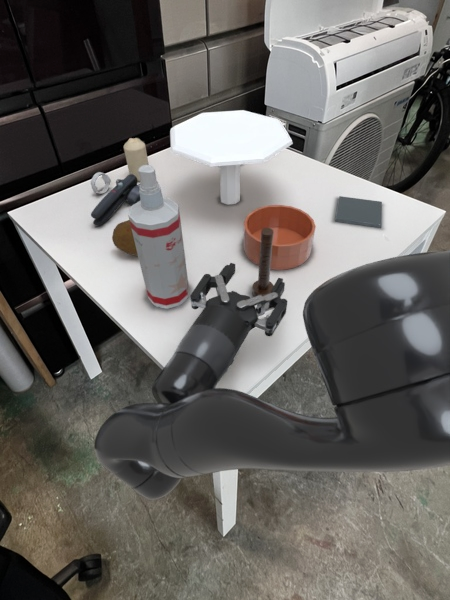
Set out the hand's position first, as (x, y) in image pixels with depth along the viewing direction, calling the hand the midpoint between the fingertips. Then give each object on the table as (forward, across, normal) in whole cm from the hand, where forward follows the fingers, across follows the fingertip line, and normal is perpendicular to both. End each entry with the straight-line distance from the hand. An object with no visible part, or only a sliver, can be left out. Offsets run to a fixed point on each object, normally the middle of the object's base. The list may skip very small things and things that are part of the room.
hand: (256, 274), depth 62 cm
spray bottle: (-4, +16, +8) cm, 18 cm away
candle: (+31, +48, +8) cm, 57 cm away
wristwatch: (+20, +52, +8) cm, 56 cm away
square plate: (+38, -10, +8) cm, 40 cm away
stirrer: (+4, 0, +8) cm, 9 cm away
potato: (+5, +28, +8) cm, 29 cm away
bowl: (+18, +2, +8) cm, 20 cm away
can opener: (+16, +43, +8) cm, 46 cm away
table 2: (+31, +20, +8) cm, 38 cm away
